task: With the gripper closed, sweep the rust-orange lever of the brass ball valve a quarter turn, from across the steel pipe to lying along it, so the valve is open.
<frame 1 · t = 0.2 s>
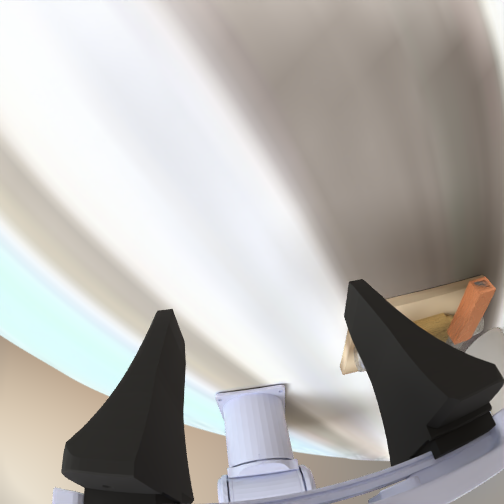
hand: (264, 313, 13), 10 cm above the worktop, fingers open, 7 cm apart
valve lever: (457, 334, 24), point 6 cm above the worktop, hinge at 0.0°
mount board: (415, 322, 31), on the worktop
valve pipe: (415, 322, 31), resting on mount board
cup: (481, 344, 40), on the worktop
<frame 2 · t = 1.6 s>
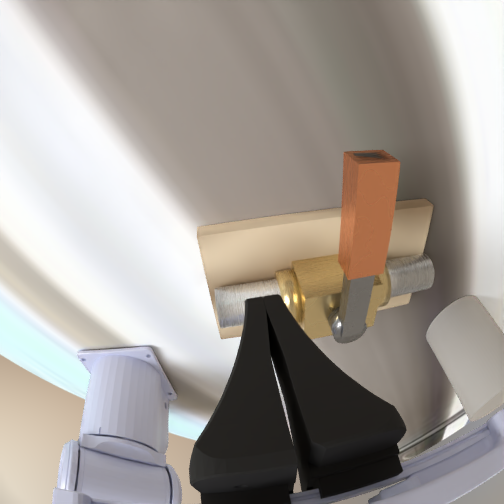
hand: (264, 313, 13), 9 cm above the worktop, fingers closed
valve lever: (358, 265, 16), point 6 cm above the worktop, hinge at 0.0°
mount board: (321, 267, 24), on the worktop
valve pipe: (321, 267, 24), resting on mount board
cup: (452, 319, 32), on the worktop
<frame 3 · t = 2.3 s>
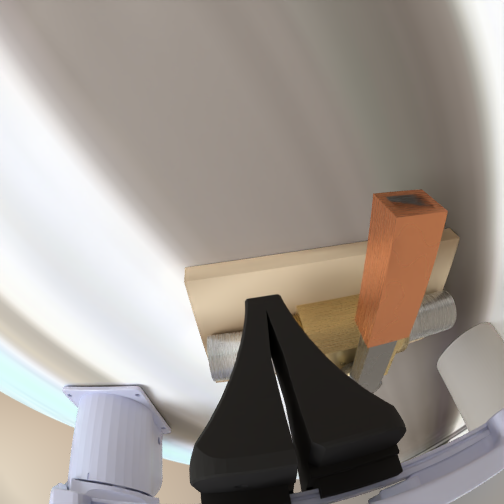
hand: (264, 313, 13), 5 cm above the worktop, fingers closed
valve lever: (379, 326, 13), point 6 cm above the worktop, hinge at 0.0°
mount board: (329, 307, 21), on the worktop
valve pipe: (329, 307, 21), resting on mount board
cup: (465, 346, 29), on the worktop
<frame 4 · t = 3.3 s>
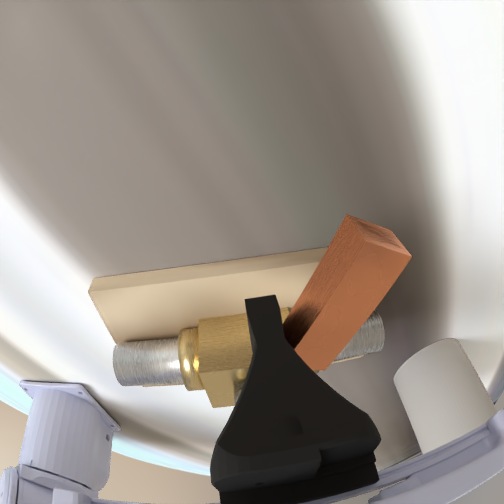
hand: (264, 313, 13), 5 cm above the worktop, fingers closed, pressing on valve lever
valve lever: (298, 350, 13), point 6 cm above the worktop, hinge at -25.4°, touching gripper
mount board: (244, 321, 20), on the worktop
valve pipe: (244, 321, 20), resting on mount board
cup: (426, 362, 28), on the worktop
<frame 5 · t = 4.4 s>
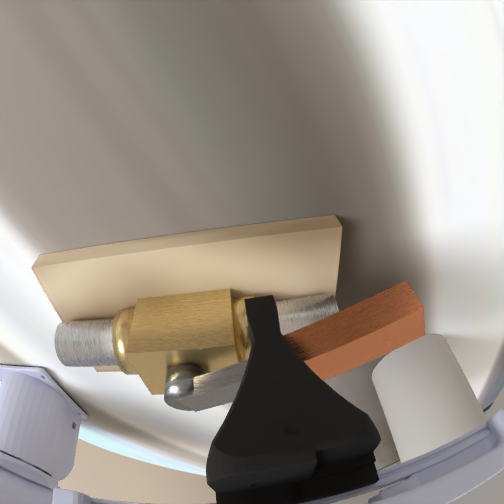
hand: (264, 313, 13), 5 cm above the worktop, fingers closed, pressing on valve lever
valve lever: (283, 362, 13), point 6 cm above the worktop, hinge at -68.4°, touching gripper
mount board: (190, 304, 19), on the worktop
valve pipe: (190, 304, 19), resting on mount board
cup: (409, 360, 27), on the worktop
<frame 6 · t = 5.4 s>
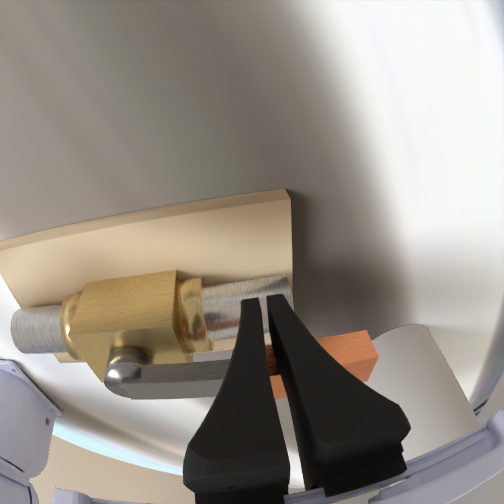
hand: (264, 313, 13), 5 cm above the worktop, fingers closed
valve lever: (236, 373, 13), point 6 cm above the worktop, hinge at -93.8°, touching gripper
mount board: (142, 289, 18), on the worktop
valve pipe: (142, 289, 18), resting on mount board
cup: (390, 353, 26), on the worktop
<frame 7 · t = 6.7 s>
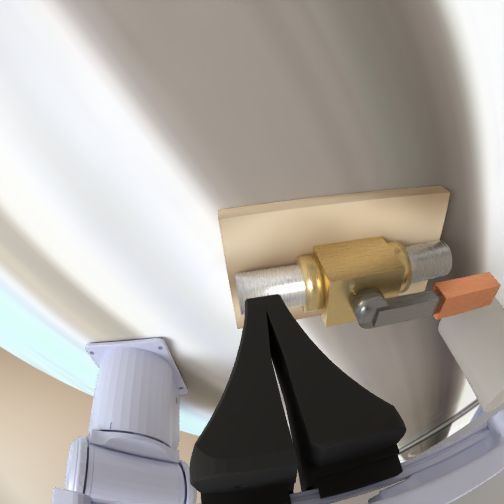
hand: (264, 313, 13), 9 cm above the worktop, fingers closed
valve lever: (433, 299, 19), point 6 cm above the worktop, hinge at -93.9°
mount board: (340, 254, 24), on the worktop
valve pipe: (340, 254, 24), resting on mount board
cup: (464, 311, 32), on the worktop
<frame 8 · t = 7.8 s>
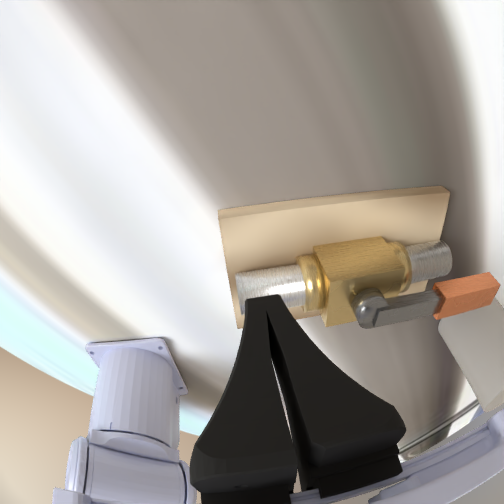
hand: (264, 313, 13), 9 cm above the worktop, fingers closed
valve lever: (433, 299, 19), point 6 cm above the worktop, hinge at -93.9°
mount board: (340, 254, 24), on the worktop
valve pipe: (340, 254, 24), resting on mount board
cup: (464, 311, 32), on the worktop
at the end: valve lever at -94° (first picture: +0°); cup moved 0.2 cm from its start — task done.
